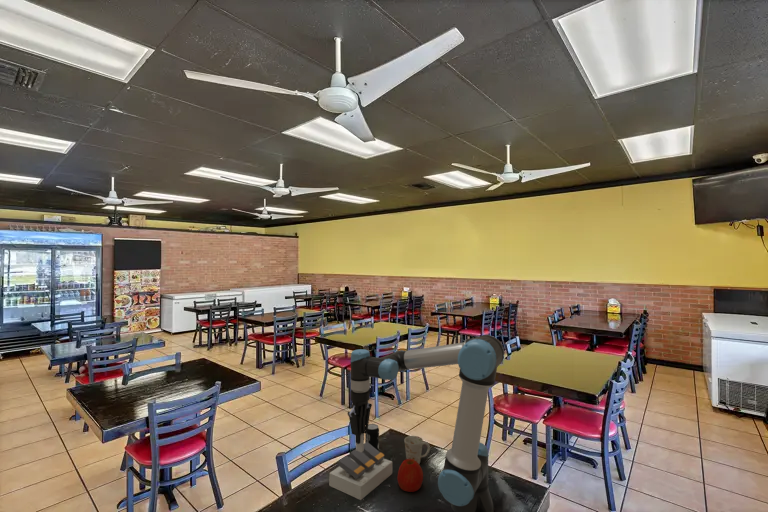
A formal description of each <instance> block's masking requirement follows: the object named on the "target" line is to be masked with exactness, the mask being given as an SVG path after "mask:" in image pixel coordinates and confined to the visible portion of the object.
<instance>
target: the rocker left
mask: <svg viewBox="0 0 768 512" xmlns="http://www.w3.org/2000/svg"><path fill="white" fill-rule="evenodd" d="M339 466H340V467H341V468H342V469H344V470H345V471H346V472H348V473H349V474H350V475H352V476H353V477H354V478H356V479H358V478H359V477H360V476H362V475H363V474H364V471H365V468H364V467H362V466H360V465H358V464H357V463H356V462H354V461H353V460H351V458H350V457H349V456H348V455H345V456H343V457H342V458H341V459H339V460H338V463H337V467H339Z"/></svg>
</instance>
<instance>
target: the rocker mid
mask: <svg viewBox="0 0 768 512" xmlns="http://www.w3.org/2000/svg"><path fill="white" fill-rule="evenodd" d="M348 457H349V458H350V459H353V460H354V461H355V462H356V463H357V464H358V465H360V466H362V467H364V468H365V471H366V472H368V471H369V470H370V469H372V468H373V467H374V465H375V462H374V461H373V460H372V459H370V458H369V457H367V456H366V455H365V454H364V453H363V452H359V451H356V448H355V449H354V450H352V451H350V453H349V456H348Z"/></svg>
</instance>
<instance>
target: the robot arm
mask: <svg viewBox="0 0 768 512" xmlns="http://www.w3.org/2000/svg"><path fill="white" fill-rule="evenodd" d="M504 358H505V349H504V345H503V344H502V342H501V341H500V340H499V339H498V338H496V337H495V336H493V335H489V334H483V335H479V336H476V337H473V338H466V339H465V340H464V342H458V343H457V342H456V343H452V344H451V343H450V344H444V345H443V344H442V345H436V346H430V347H424V348H423V347H422V348H416V349H409V350H402V349H401V350H397V351H394V352H393V353H389V354H388V355H385V356H382V357H377V356H376V357H374V356H371V354H370V350H367V349H361V348H360V349H355V350H353V351H351V354H350V401H352V402H351V403H352V405H351V410H350V411H349V410H348V411H347V416H348V420H349V424H350V431H351V435H354V436H355V449H356V451H359V452H363V451H364V443H365V434H366V433H367V431H365V430H367V429H368V425H369V422H370V415H371V410H372V409H371V408H372V406H373V405H372V403H370V402H369V400H370V393H371V391H370V388H371V387H370V385H371V383H370V382H371V381H370V380H371V379H370V378H376V379H381V380H385V381H393V380H396V377H397V376H398V374H399V372H401V371H409V370H417V369H426V368H434V367H444V366H445V367H446V366H451V365H452V366H453V365H454V366H455V365H458V368H459V372H458V377H459V379H460V380H461V381H462V383H461V390H460V395H459V402H458V408H457V413H456V420H455V423H454V424H455V425H454V432H453V438H452V443H451V447H450V448H449V449H448V450H447V451H446V452H445V459H444V465H443V469H442V470H441V472H440V473H439V475H438V477H437V488H438V489H439V492H440V493H441V495H442V497H443V498H444V499H445V500H446V501H447V502H448V503H450V507H451V509H452V511H453V512H494V502H493V499H492V496H491V492H490V490H489V449H488V447H487V445H485V444H484V443H482V442H481V436H482V432H483V430H482V429H483V424H484V418H485V412H486V408H487V407H486V406H487V400H488V396H489V394H488V393H489V388H492V387H493V386H495V382H496V378H497V377H496V376H497V371H498V367H499V366H500V365H501V363H503V361H504Z"/></svg>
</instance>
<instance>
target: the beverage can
mask: <svg viewBox="0 0 768 512" xmlns="http://www.w3.org/2000/svg"><path fill="white" fill-rule="evenodd" d="M365 431H367V433H366V434H365V433H364V443H366V442H368V443H369V444H370V445H372V446H373V447H374V448H375V449H377V450H378V451H379V452H380V428H379V425H378V424H376V423H370V424H368V429H367V430H365Z"/></svg>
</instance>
